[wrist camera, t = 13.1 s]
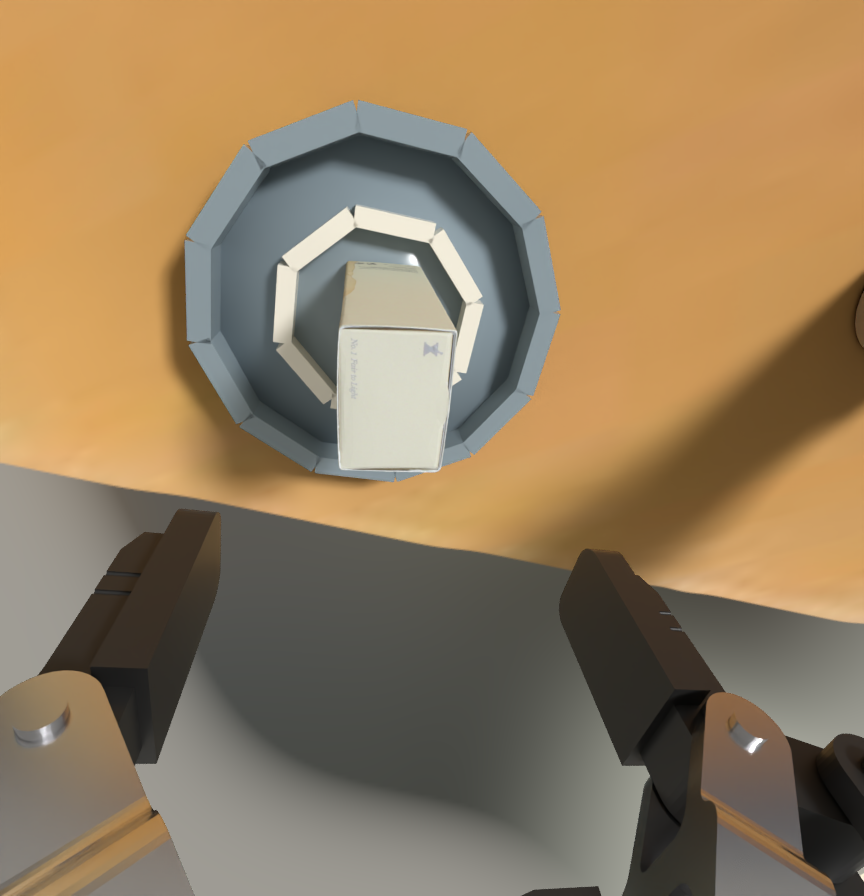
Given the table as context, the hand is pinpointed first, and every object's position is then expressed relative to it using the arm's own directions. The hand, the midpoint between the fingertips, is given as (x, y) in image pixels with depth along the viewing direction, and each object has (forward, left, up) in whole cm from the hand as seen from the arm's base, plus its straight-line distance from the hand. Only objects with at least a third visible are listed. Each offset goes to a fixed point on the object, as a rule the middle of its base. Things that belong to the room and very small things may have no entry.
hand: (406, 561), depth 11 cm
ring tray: (0, 0, -22) cm, 22 cm away
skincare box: (0, 0, -21) cm, 21 cm away
